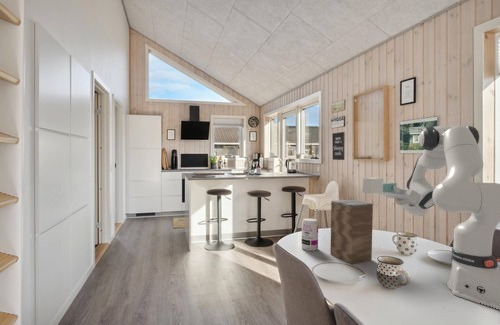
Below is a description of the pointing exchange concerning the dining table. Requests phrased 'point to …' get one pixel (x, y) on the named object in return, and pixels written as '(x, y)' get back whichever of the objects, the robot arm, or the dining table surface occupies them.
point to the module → (376, 185)
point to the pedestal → (351, 230)
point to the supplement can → (310, 234)
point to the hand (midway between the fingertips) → (388, 186)
